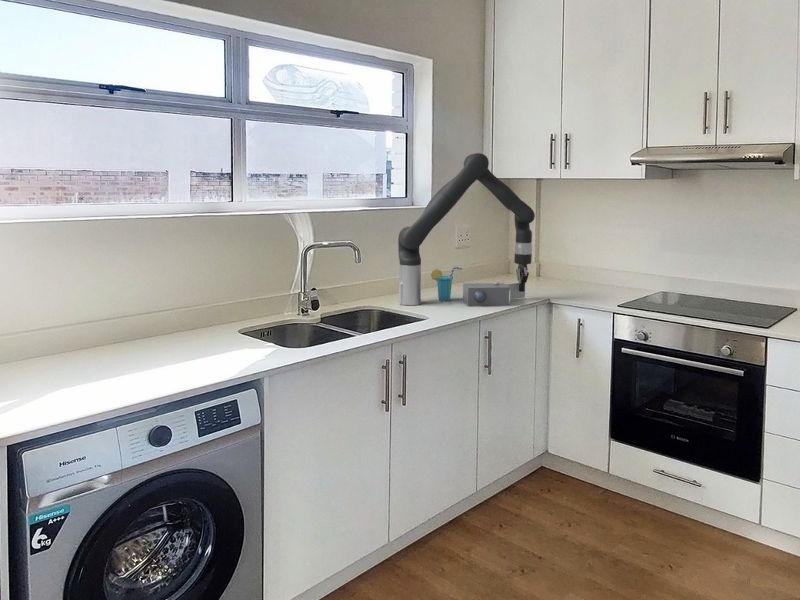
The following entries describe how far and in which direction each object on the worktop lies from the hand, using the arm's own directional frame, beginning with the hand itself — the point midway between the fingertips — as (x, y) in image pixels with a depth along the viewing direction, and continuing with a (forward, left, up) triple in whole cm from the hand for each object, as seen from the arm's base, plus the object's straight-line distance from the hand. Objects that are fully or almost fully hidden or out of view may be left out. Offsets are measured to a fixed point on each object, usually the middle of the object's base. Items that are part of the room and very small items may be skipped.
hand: (521, 291), depth 307 cm
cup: (-33, +3, -4) cm, 34 cm away
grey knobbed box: (-17, -6, -4) cm, 19 cm away
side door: (-3, +2, -4) cm, 5 cm away
